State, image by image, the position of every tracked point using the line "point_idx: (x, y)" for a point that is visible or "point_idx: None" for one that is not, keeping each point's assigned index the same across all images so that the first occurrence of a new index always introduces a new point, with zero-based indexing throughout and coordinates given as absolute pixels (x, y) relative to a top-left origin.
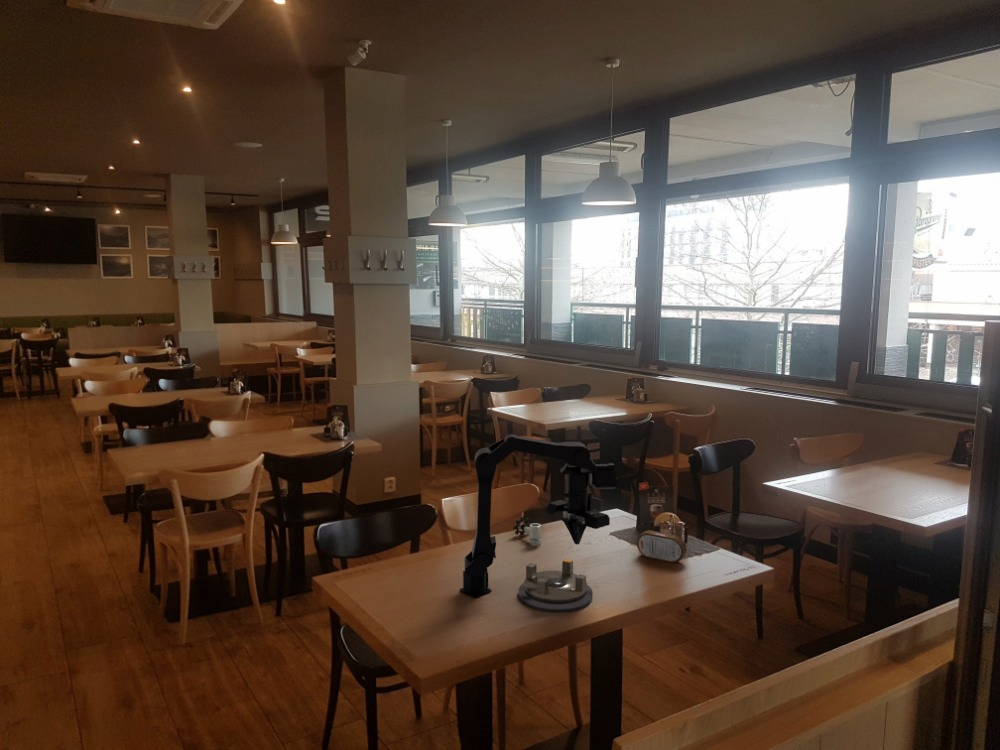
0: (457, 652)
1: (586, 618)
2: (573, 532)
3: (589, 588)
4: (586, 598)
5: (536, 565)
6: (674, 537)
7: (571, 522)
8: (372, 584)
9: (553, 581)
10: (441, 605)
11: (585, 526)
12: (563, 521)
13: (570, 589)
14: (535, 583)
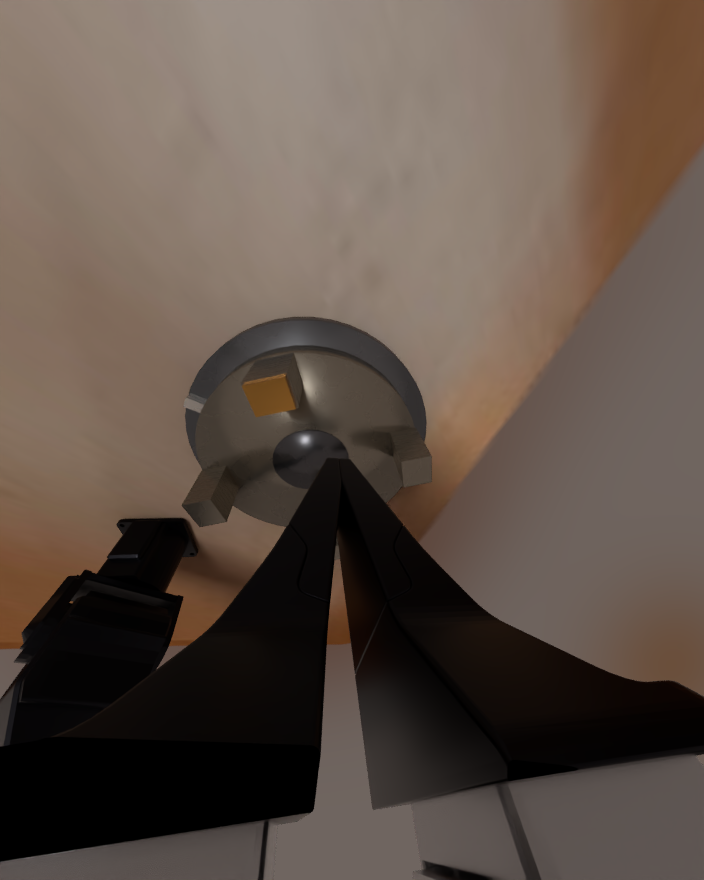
0: (340, 618)
1: (448, 471)
2: (350, 614)
3: (388, 358)
4: (417, 425)
5: (212, 496)
6: None
7: (306, 760)
8: (21, 618)
9: (301, 462)
10: (192, 589)
11: (468, 618)
12: (208, 786)
13: (379, 464)
14: (270, 498)
